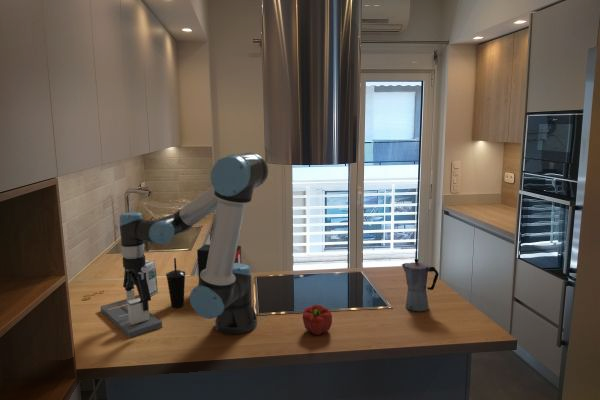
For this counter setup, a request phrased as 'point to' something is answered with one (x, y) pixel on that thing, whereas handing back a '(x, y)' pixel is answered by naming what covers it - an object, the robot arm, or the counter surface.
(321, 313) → the vegetable
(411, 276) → the moka pot
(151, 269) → the syrup box
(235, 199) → the robot arm
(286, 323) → the counter surface
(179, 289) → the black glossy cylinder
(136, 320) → the fader knob
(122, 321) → the fader console
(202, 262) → the cleaning product box
